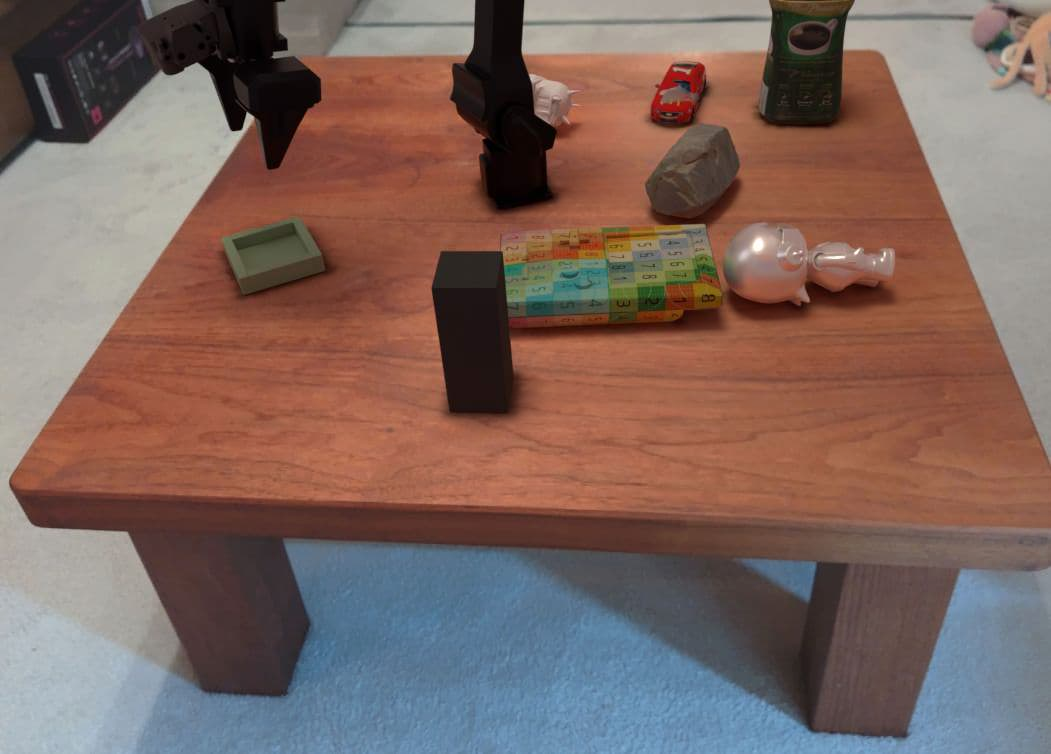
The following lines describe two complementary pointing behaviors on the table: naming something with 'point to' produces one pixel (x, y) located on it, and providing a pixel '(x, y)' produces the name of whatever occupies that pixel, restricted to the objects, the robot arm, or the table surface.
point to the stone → (694, 172)
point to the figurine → (796, 264)
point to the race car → (679, 92)
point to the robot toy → (551, 100)
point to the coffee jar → (804, 61)
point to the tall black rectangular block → (473, 330)
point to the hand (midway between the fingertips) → (253, 148)
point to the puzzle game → (608, 275)
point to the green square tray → (272, 254)
